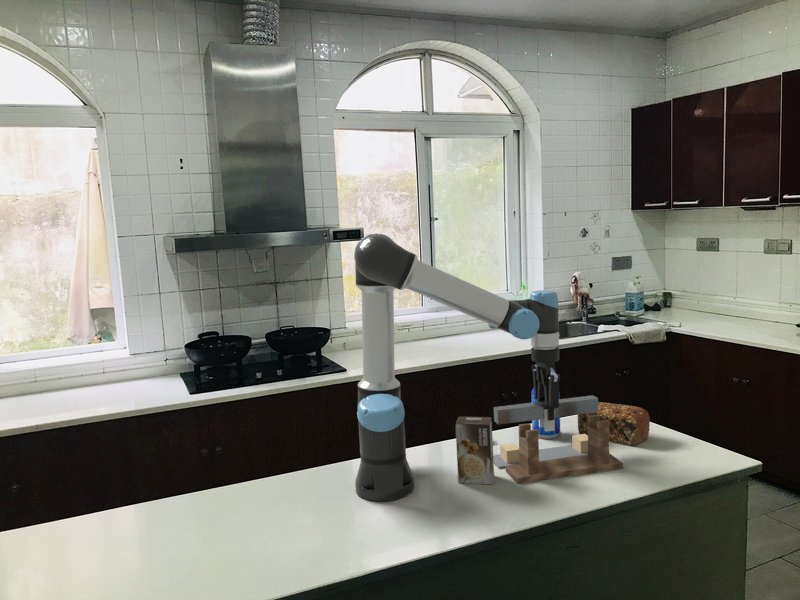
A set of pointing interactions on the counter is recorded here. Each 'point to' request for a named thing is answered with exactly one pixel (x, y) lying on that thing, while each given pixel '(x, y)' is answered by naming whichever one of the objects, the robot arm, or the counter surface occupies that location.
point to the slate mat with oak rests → (543, 452)
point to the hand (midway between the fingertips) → (546, 428)
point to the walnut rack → (563, 467)
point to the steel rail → (537, 412)
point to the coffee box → (475, 450)
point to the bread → (620, 423)
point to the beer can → (541, 430)
